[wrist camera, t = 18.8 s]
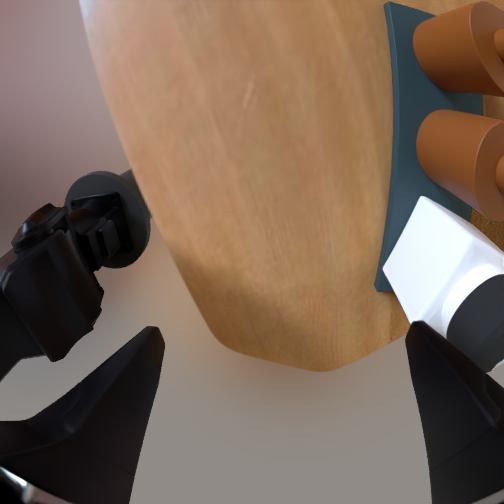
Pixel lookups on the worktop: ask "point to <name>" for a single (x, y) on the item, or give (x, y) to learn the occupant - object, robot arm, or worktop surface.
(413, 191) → the tray
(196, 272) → the worktop surface
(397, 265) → the medicine bottle
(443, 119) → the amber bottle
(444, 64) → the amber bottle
